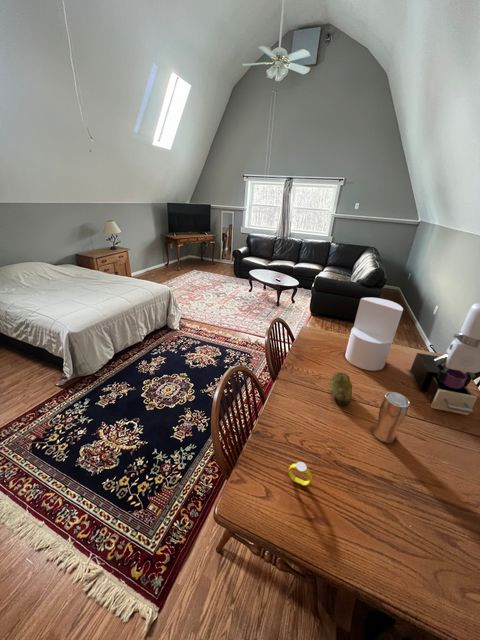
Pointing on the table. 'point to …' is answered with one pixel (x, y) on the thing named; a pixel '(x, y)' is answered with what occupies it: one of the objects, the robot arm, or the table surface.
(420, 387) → the cabinet
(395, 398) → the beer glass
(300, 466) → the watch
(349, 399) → the green rounded piece
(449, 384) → the bowl
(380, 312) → the cylinder
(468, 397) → the drawer
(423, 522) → the table surface
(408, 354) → the table surface
